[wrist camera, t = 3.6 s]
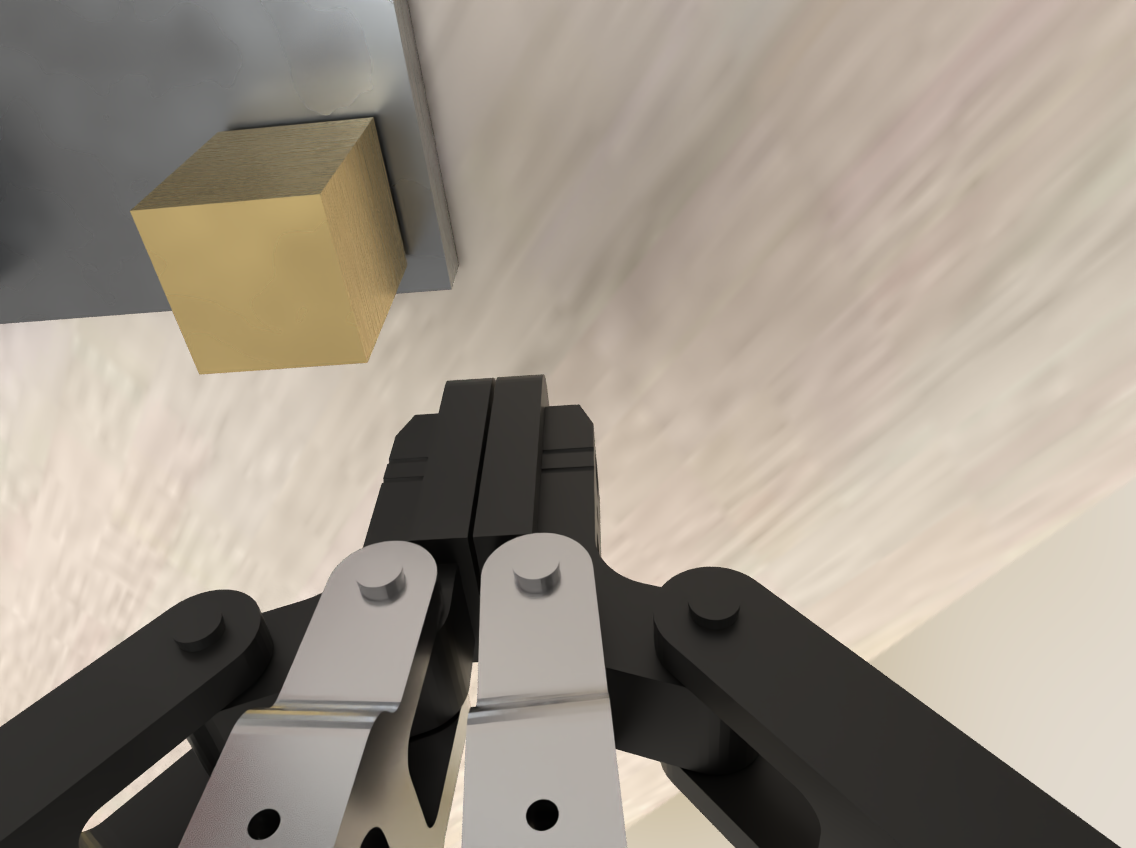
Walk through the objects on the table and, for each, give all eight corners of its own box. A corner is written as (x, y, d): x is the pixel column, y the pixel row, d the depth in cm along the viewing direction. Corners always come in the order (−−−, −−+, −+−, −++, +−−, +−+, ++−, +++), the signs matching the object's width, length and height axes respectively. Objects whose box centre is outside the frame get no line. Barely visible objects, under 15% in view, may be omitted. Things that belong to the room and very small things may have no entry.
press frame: (292, -593, 15) (133, -787, 10) (458, 265, 25) (421, 388, 20) (-496, -460, 17) (-990, -571, 12) (-44, 305, 27) (-200, 429, 22)
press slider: (373, 117, 21) (319, 194, 17) (407, 264, 24) (367, 362, 20) (218, 131, 22) (129, 210, 17) (267, 276, 24) (199, 374, 20)
